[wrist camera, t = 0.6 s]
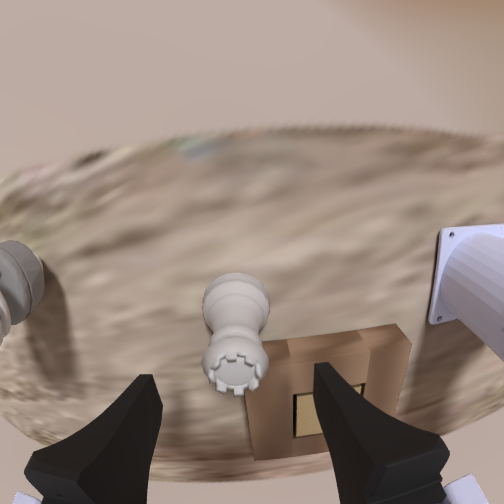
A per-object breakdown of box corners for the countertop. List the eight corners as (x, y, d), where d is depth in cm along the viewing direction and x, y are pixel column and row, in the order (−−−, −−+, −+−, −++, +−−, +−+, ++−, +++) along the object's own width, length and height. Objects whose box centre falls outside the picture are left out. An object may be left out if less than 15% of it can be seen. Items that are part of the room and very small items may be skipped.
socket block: (395, 323, 22) (412, 344, 20) (376, 417, 26) (386, 438, 23) (241, 343, 22) (241, 368, 20) (252, 436, 26) (254, 460, 23)
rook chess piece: (233, 339, 22) (232, 421, 15) (189, 297, 21) (167, 372, 14) (282, 302, 22) (303, 378, 14) (239, 256, 20) (239, 319, 13)
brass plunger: (357, 377, 22) (361, 386, 21) (350, 418, 23) (353, 426, 22) (295, 387, 21) (297, 396, 21) (294, 427, 23) (296, 436, 22)
